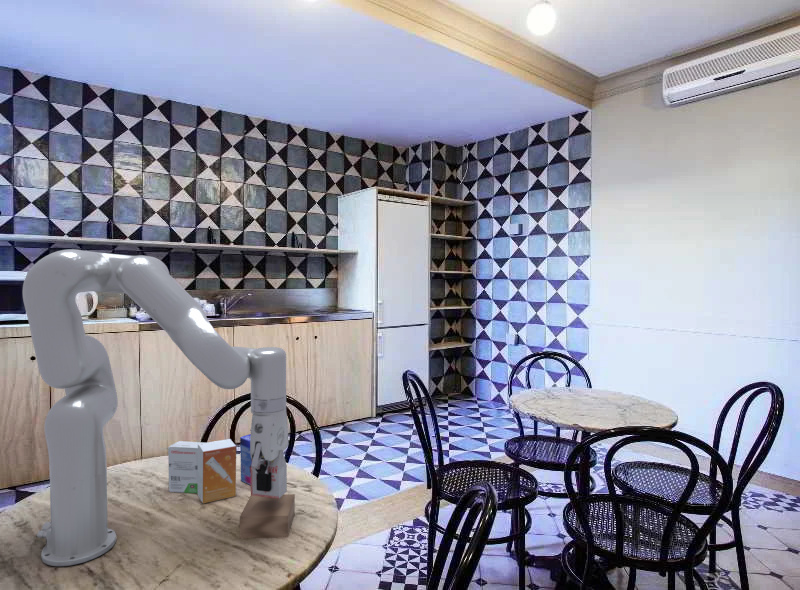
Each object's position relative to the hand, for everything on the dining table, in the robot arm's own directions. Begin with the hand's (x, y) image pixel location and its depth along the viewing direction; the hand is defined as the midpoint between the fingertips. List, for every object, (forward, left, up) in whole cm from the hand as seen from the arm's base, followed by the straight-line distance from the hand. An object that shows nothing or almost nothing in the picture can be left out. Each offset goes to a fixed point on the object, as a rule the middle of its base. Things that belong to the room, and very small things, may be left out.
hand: (268, 485), depth 108 cm
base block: (0, 0, -9) cm, 9 cm away
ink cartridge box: (-12, +20, -9) cm, 25 cm away
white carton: (0, 0, -2) cm, 2 cm away
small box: (-19, +11, -9) cm, 24 cm away
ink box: (-28, +13, -9) cm, 32 cm away
